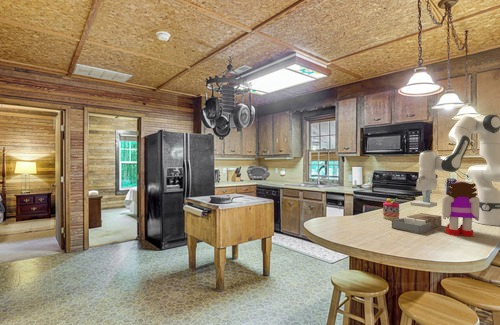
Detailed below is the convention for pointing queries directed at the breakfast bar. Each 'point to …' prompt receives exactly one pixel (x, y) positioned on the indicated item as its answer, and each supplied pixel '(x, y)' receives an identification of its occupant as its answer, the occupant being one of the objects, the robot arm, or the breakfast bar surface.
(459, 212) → the toy
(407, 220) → the tile
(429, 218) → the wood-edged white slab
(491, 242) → the breakfast bar surface
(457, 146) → the robot arm
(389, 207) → the cake
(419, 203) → the blue-knobbed white block
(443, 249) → the breakfast bar surface
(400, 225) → the tray
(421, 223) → the tile
